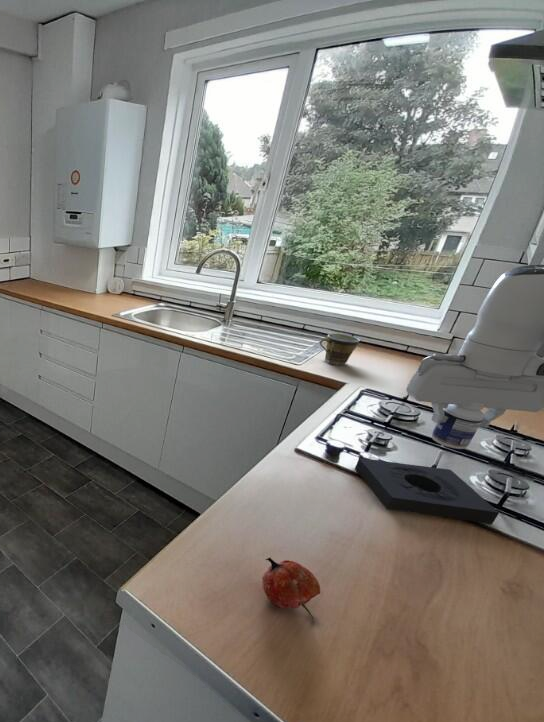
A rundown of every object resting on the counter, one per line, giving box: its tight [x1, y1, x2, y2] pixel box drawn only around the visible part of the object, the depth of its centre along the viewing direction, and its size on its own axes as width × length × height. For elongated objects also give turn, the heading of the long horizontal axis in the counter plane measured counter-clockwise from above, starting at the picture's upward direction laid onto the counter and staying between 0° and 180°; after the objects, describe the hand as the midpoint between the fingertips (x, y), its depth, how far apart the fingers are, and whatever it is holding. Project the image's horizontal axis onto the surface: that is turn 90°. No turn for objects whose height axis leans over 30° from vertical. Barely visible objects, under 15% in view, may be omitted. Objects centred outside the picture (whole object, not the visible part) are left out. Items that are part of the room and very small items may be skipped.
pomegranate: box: [261, 556, 321, 620], centre depth 63 cm, size 7×7×10 cm
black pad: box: [354, 458, 500, 525], centre depth 87 cm, size 18×14×3 cm
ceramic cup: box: [319, 333, 361, 366], centre depth 155 cm, size 13×10×10 cm
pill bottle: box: [430, 403, 485, 450], centre depth 79 cm, size 5×5×10 cm
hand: (458, 424), depth 79 cm, fingers closed on pill bottle, 5 cm apart
